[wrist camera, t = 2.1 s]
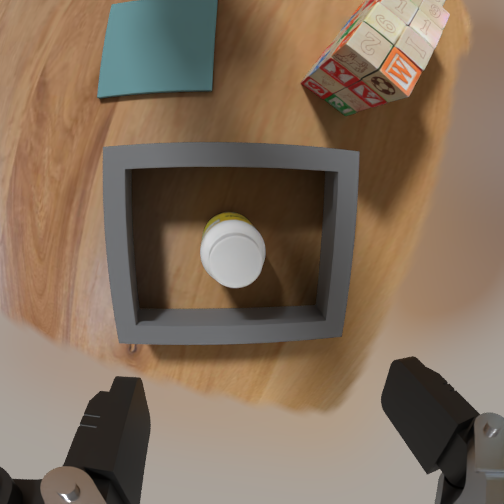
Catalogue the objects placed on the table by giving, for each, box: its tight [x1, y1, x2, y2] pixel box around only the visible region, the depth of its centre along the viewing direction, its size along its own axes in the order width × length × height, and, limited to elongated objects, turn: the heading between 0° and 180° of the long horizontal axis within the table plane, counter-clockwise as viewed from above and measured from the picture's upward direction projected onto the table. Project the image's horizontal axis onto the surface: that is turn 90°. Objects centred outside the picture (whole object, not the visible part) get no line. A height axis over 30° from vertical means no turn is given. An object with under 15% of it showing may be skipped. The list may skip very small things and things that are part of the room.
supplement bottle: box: [200, 212, 266, 288], centre depth 27 cm, size 5×5×10 cm
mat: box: [97, 0, 218, 99], centre depth 25 cm, size 12×12×1 cm
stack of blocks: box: [301, 0, 450, 116], centre depth 22 cm, size 21×6×12 cm, turn 147°
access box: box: [103, 142, 359, 345], centre depth 29 cm, size 22×18×6 cm
